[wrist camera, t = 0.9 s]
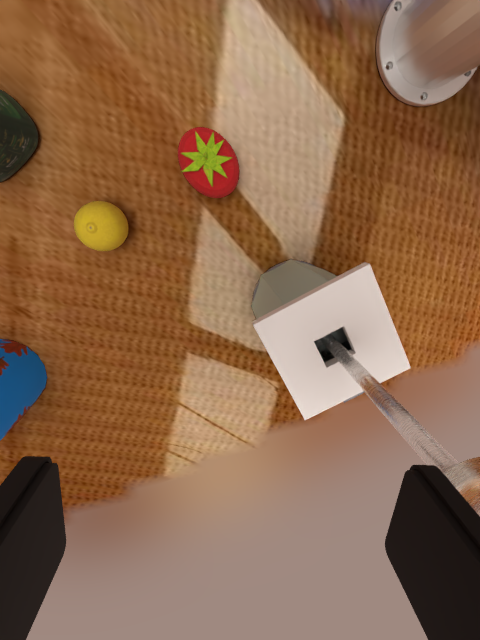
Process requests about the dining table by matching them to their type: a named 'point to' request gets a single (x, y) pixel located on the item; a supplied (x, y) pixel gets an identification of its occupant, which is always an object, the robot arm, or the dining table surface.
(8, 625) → the robot arm
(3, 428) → the thermos
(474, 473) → the plunger
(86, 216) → the lemon
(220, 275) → the dining table surface
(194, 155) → the strawberry
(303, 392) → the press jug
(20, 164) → the coffee jar
